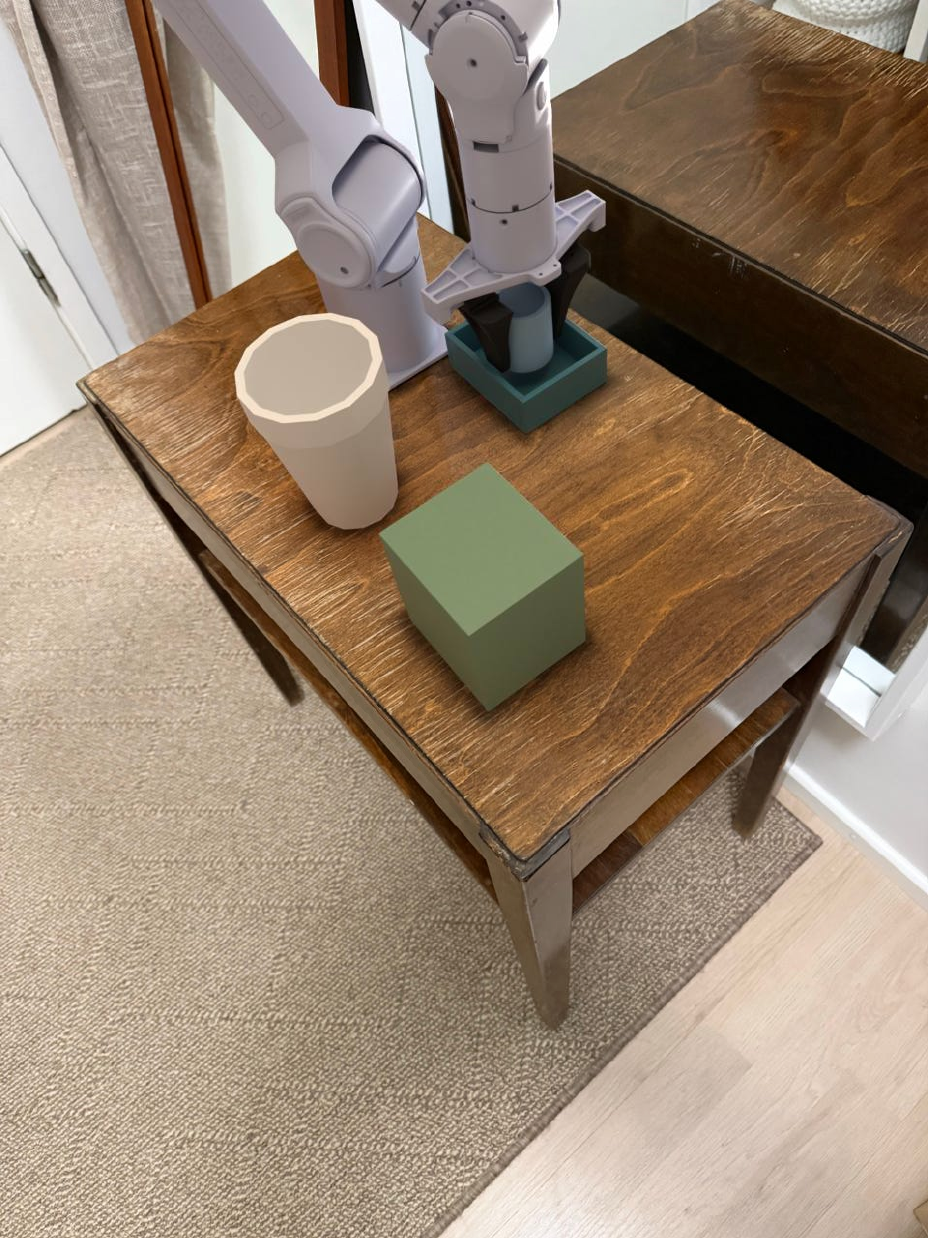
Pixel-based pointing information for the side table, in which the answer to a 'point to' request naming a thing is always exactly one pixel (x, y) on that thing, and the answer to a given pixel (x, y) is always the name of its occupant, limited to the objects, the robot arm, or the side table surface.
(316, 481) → the foam cup
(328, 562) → the side table surface
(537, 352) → the blue cup
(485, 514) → the sage green cube
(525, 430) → the bin
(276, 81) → the robot arm
